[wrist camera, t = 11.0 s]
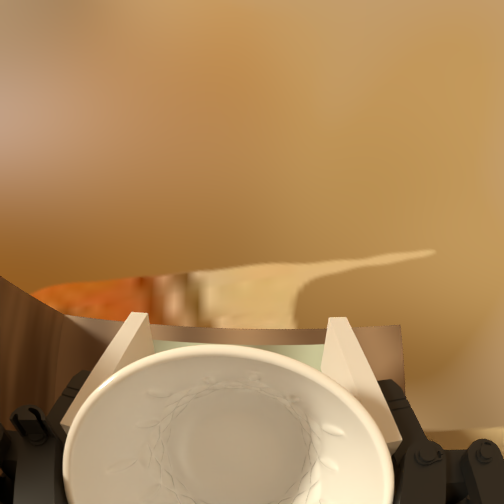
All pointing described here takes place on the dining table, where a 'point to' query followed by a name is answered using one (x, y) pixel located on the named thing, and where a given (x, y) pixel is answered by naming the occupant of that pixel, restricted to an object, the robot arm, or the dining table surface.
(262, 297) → the dining table surface
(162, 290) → the dining table surface
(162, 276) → the dining table surface
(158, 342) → the walnut shelf
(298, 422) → the white cup
